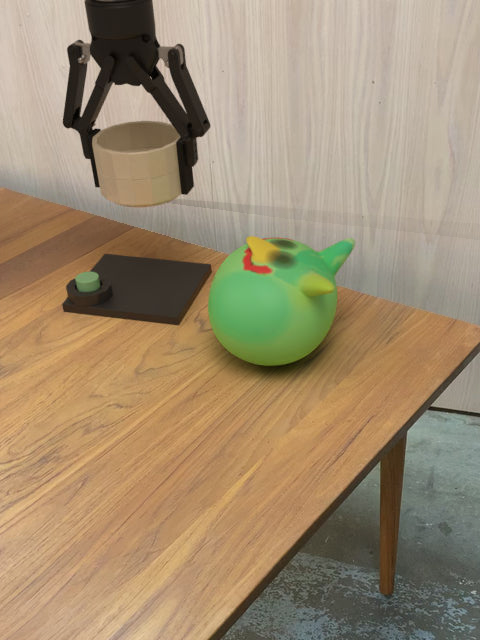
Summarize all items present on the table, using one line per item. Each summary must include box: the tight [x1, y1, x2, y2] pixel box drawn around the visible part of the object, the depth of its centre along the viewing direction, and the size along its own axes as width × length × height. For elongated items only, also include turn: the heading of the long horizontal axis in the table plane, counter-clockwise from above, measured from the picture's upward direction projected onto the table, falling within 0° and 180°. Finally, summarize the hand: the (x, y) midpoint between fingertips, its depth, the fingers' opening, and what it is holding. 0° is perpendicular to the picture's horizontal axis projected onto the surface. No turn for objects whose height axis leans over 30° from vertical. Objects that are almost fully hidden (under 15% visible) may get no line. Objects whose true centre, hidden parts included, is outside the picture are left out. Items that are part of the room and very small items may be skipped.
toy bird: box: [207, 235, 356, 367], centre depth 96 cm, size 18×17×15 cm
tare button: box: [75, 271, 100, 292], centre depth 108 cm, size 3×3×2 cm
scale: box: [61, 253, 213, 326], centre depth 111 cm, size 17×15×3 cm
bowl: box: [92, 120, 183, 208], centre depth 99 cm, size 11×11×7 cm
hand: (144, 186), depth 101 cm, fingers closed on bowl, 11 cm apart
